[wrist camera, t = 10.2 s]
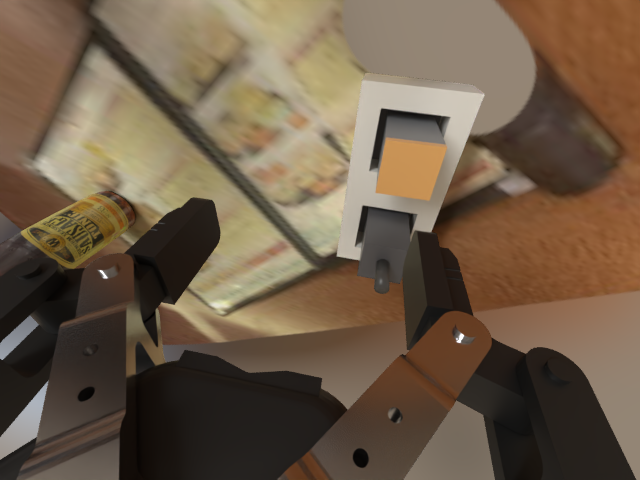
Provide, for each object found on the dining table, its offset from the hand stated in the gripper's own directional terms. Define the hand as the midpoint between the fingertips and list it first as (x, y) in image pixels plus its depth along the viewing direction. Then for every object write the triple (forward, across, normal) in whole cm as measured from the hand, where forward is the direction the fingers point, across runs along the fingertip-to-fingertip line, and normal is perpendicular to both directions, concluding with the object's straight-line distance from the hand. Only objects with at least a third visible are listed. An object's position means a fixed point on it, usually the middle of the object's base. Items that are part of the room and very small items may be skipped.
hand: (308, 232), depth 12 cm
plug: (+19, -5, +2) cm, 19 cm away
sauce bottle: (+20, +32, +17) cm, 42 cm away
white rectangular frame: (+20, -5, +6) cm, 21 cm away
